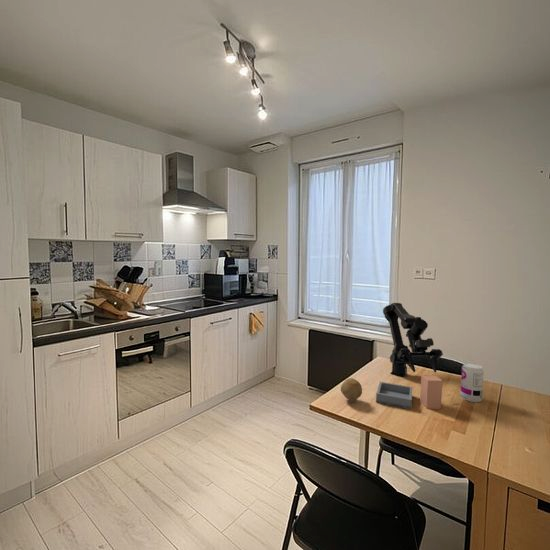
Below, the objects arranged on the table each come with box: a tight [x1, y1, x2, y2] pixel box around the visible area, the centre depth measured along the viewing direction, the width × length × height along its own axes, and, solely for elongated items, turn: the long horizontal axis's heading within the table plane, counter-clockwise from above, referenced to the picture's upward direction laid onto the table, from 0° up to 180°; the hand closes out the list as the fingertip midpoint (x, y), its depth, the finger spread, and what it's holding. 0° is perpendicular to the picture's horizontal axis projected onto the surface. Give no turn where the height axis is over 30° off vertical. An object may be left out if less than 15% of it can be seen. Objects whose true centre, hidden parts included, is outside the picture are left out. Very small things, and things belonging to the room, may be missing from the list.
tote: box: [375, 381, 413, 410], centre depth 141 cm, size 14×14×4 cm
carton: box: [419, 374, 443, 410], centre depth 136 cm, size 6×6×12 cm
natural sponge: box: [340, 377, 363, 403], centre depth 138 cm, size 9×9×10 cm
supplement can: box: [459, 362, 485, 403], centre depth 142 cm, size 8×8×15 cm
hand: (425, 371), depth 141 cm, fingers open, 9 cm apart
